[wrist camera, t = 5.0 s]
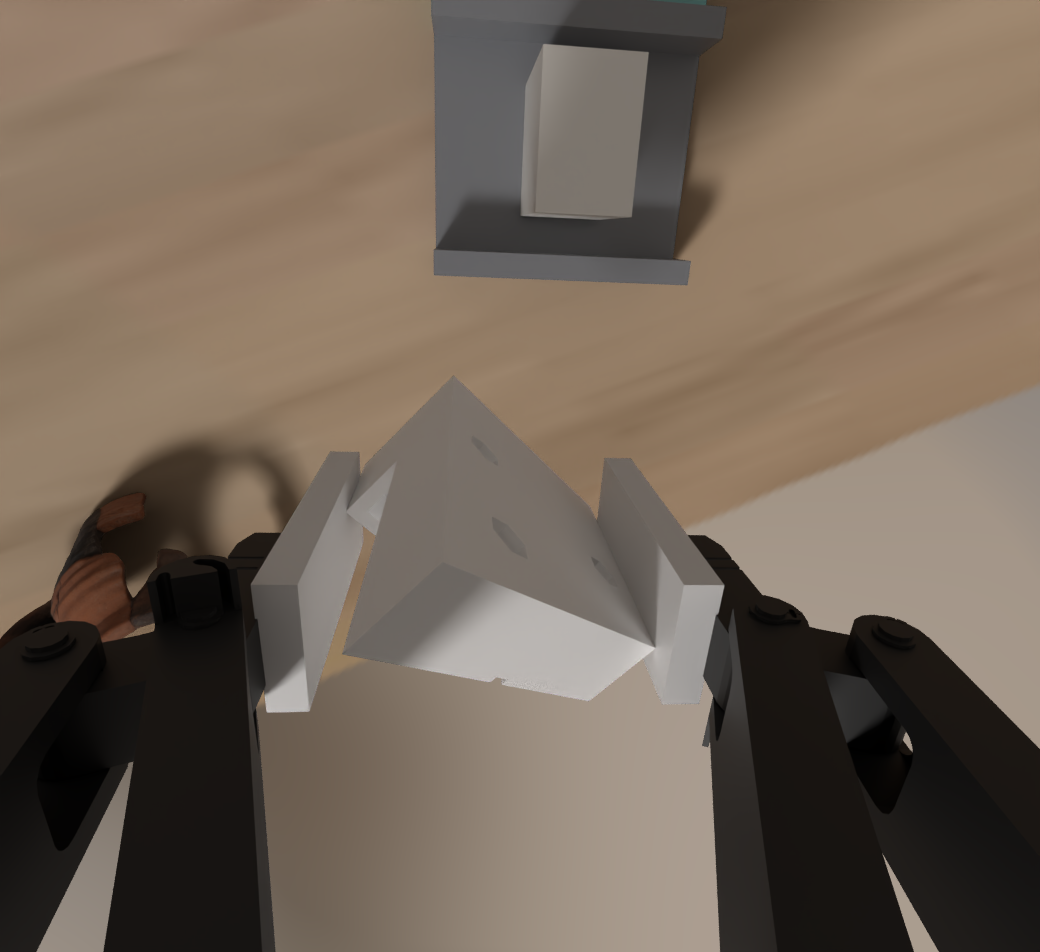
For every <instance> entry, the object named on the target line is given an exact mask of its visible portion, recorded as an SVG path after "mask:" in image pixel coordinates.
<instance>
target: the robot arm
mask: <svg viewBox="0 0 1040 952" xmlns="http://www.w3.org/2000/svg"><path fill="white" fill-rule="evenodd" d="M359 479H360V456H359V452H331V451H330V453H329V455H328V456H327V458H326V460H325V461H324V463H323V465H322V466H321V468H320V470H319V471H318V473H317V475H316V476H315V478H314V480H313V481H312V483H311V485H310V486H309V488H308V490H307V491H306V493H305V495H304V496H303V498H302V500H301V501H300V503H299V505H298V506H297V508H296V510H295V511H294V513H293V515H292V516H291V518H290V520H289V521H288V523H287V525H286V526H285V528H284V530H283V531H282V533H254V534H252V535H250V536H249V537H247V538H246V539H244V540H242V541H241V542H239V543H238V544H237V545H236V546H235V548H234V549H233V550H232V552H231V553H230V554H229V556H228V559H227V558H225V557H219V556H212V555H206V556H193V557H189V558H184V559H180V560H176V561H174V562H172V563H169V564H167V565H164V566H162V567H161V568H159V569H158V570H156V571H155V572H154V573H152V574H151V576H150V577H149V579H148V581H147V582H146V583H147V588H148V593H149V598H150V602H151V607H152V612H153V617H154V622H155V629H154V631H153V632H150V633H146V634H142V635H138V636H134V637H128V638H123V639H118V640H112V641H107V642H102V640H101V636H100V633H99V631H98V629H97V627H96V626H95V625H93V624H90V623H88V622H85V621H64V622H57V623H50V624H45V625H44V626H39V627H36V628H33V629H31V630H30V631H28V632H26V633H24V634H22V635H20V636H18V637H15V638H13V639H12V640H11V641H10V642H8V643H7V644H6V645H5V646H3V647H2V648H1V649H0V952H36V951H37V949H38V947H39V945H40V943H41V941H42V939H43V937H44V935H45V933H46V931H47V929H48V927H49V925H50V923H51V921H52V919H53V917H54V915H55V913H56V911H57V909H58V907H59V905H60V903H61V900H62V899H63V897H64V895H65V892H66V891H67V889H68V887H69V884H70V883H71V881H72V879H73V877H74V875H75V872H76V870H77V868H78V866H79V864H80V862H81V860H82V858H83V856H84V854H85V852H86V850H87V848H88V846H89V844H90V842H91V840H92V838H93V836H94V834H95V832H96V830H97V828H98V826H99V824H100V822H101V820H102V818H103V815H104V814H105V812H106V810H107V808H108V806H109V804H110V801H111V800H112V798H113V796H114V794H115V791H116V789H117V787H118V785H119V783H120V781H121V779H122V777H123V775H124V773H125V771H126V769H127V767H128V763H129V762H133V761H134V762H133V769H132V775H131V781H130V788H129V794H128V800H127V806H126V813H125V819H124V825H123V831H122V838H121V844H120V851H119V857H118V863H117V869H116V876H115V882H114V888H113V895H112V901H111V907H110V914H109V920H108V926H107V933H106V939H105V945H104V952H275V939H274V926H273V913H272V900H271V887H270V874H269V860H268V846H267V833H266V822H265V821H266V820H265V807H264V794H263V780H262V769H261V768H262V767H261V755H260V741H259V728H258V720H257V712H256V706H257V704H258V702H259V699H260V697H261V695H262V692H263V690H264V694H265V701H266V709H267V712H306V711H308V712H309V711H310V708H311V705H312V702H313V699H314V695H315V692H316V689H317V686H318V683H319V680H320V677H321V674H322V670H323V667H324V664H325V661H326V658H327V655H328V652H329V648H330V645H331V642H332V639H333V636H334V633H335V630H336V626H337V623H338V620H339V617H340V614H341V611H342V608H343V604H344V601H345V598H346V595H347V592H348V589H349V586H350V582H351V579H352V576H353V573H354V570H355V567H356V564H357V560H358V557H359V554H360V551H361V548H362V545H363V525H361V524H360V523H359V522H358V521H356V520H355V519H354V518H353V517H351V516H350V515H349V514H347V508H348V506H349V504H350V501H351V499H352V496H353V494H354V491H355V489H356V487H357V484H358V482H359ZM597 523H598V525H599V527H600V529H601V531H602V533H603V536H604V538H605V540H606V542H607V544H608V546H609V549H610V551H611V553H612V555H613V557H614V559H615V562H616V564H617V566H618V568H619V570H620V572H621V574H622V577H623V579H624V581H625V583H626V585H627V587H628V590H629V592H630V594H631V596H632V598H633V600H634V603H635V605H636V607H637V609H638V611H639V613H640V616H641V618H642V620H643V622H644V624H645V626H646V629H647V631H648V633H649V635H650V637H651V639H652V642H653V644H654V646H655V649H654V650H653V651H651V652H650V653H649V654H648V655H646V656H645V657H644V658H643V660H644V663H645V665H646V668H647V670H648V672H649V675H650V677H651V679H652V682H653V684H654V686H655V689H656V691H657V694H658V696H659V698H660V701H661V703H662V704H699V702H700V697H701V693H702V688H703V683H704V679H705V681H706V683H707V685H708V687H709V689H710V690H711V692H712V694H713V700H712V704H711V708H710V713H709V717H708V722H707V726H706V731H705V735H704V740H703V744H702V746H706V747H708V746H709V743H710V748H711V769H712V790H713V811H714V831H715V852H716V873H717V895H718V913H719V937H720V952H914V951H913V948H912V945H911V941H910V938H909V935H908V932H907V929H906V926H905V923H904V920H903V917H902V914H901V910H900V907H899V904H898V901H897V898H896V895H895V892H894V888H893V885H892V882H891V879H890V876H889V873H888V870H887V867H886V864H885V860H884V857H885V858H886V860H887V862H888V864H889V865H890V867H891V869H892V870H893V872H894V874H895V876H896V878H897V879H898V881H899V883H900V885H901V886H902V888H903V890H904V892H905V893H906V895H907V897H908V898H909V900H910V902H911V903H912V905H913V907H914V909H915V911H916V912H917V914H918V916H919V918H920V920H921V921H922V923H923V925H924V927H925V928H926V930H927V932H928V933H929V935H930V937H931V939H932V941H933V942H934V944H935V946H936V947H937V949H938V951H939V952H1040V749H1039V748H1038V747H1037V746H1036V745H1035V744H1034V743H1033V742H1032V741H1031V740H1030V739H1029V738H1028V737H1027V736H1026V735H1025V734H1024V733H1023V732H1022V731H1021V730H1020V729H1019V728H1018V727H1017V726H1016V725H1015V724H1014V723H1013V722H1012V721H1011V720H1010V719H1009V718H1008V717H1007V715H1005V714H1004V712H1002V711H1001V709H999V708H998V707H997V705H996V704H995V703H993V701H992V700H990V699H989V697H988V696H987V695H985V693H984V692H983V691H982V690H981V689H980V688H979V687H977V685H975V683H974V682H973V681H971V679H970V678H969V677H968V676H967V675H966V674H965V673H964V672H963V671H962V670H961V669H960V668H959V667H958V666H957V665H956V664H955V663H954V662H953V661H952V660H951V659H950V658H949V657H948V656H947V655H946V654H945V653H944V652H943V651H942V650H941V649H940V648H939V647H938V646H937V645H936V644H935V643H934V642H933V641H932V640H931V639H930V638H929V637H927V636H926V635H925V634H923V633H922V632H921V631H920V630H918V629H916V628H914V627H912V626H910V625H908V624H907V623H906V622H904V621H901V620H898V619H897V620H896V619H895V618H892V617H888V616H878V615H864V616H860V617H858V618H856V619H855V620H854V623H853V626H852V630H851V633H850V635H847V634H842V633H836V632H831V631H826V630H820V629H816V628H812V627H809V624H808V621H807V620H806V618H805V616H804V615H803V614H802V612H800V611H799V610H798V609H796V608H795V607H794V606H792V605H791V604H788V603H786V602H784V601H782V600H780V599H777V598H773V597H769V596H766V595H762V594H761V593H760V592H759V591H758V589H757V588H756V587H755V586H754V584H753V583H752V582H751V581H750V580H749V578H748V577H747V576H746V575H745V574H744V572H743V571H742V570H740V569H739V566H738V565H737V564H736V563H735V561H734V560H732V559H731V557H730V555H729V554H728V553H727V552H726V551H725V549H724V548H723V547H722V546H721V545H719V544H718V543H716V542H715V541H713V540H711V539H710V538H708V537H707V536H705V535H687V534H686V532H685V531H684V530H683V528H682V527H681V526H680V524H679V523H678V522H677V520H676V519H675V518H674V516H673V515H672V514H671V512H670V511H669V509H668V508H667V507H666V505H665V504H664V503H663V501H662V500H661V499H660V497H659V496H658V495H657V493H656V492H655V491H654V489H653V488H652V486H651V485H650V484H649V482H648V481H647V480H646V478H645V477H644V476H643V474H642V473H641V472H640V470H639V469H638V468H637V466H636V465H635V463H634V462H633V461H632V459H631V458H604V466H603V475H602V483H601V492H600V500H599V509H598V517H597ZM906 732H907V734H908V735H909V737H910V741H911V744H912V748H913V752H912V751H911V750H910V749H909V748H908V747H907V745H906V744H905V743H904V741H903V738H904V734H905V733H906ZM882 853H883V854H882ZM883 855H884V857H883Z"/></svg>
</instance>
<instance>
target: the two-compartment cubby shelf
mask: <svg viewBox="0 0 1040 952" xmlns="http://www.w3.org/2000/svg"><path fill="white" fill-rule="evenodd" d="M706 1H707V0H431V16H432V23H433V30H434V60H435V181H436V249H434V275H441V276H466V277H492V278H517V279H542V280H567V281H593V282H618V283H643V284H668V285H688V278H689V270H690V263H691V261H687V260H679V259H673V254H674V246H675V239H676V231H677V223H678V216H679V208H680V200H681V193H682V185H683V177H684V170H685V162H686V154H687V147H688V139H689V131H690V124H691V116H692V108H693V101H694V93H695V85H696V78H697V70H698V63H699V56H700V55H701V54H703V53H704V52H705V51H707V50H708V49H709V48H711V47H712V46H713V45H715V44H716V43H717V42H719V41H720V40H721V39H722V37H723V30H724V23H725V16H726V9H727V7H721V6H710V5H706ZM543 44H551V45H564V46H576V47H589V48H602V49H615V50H627V51H640V52H649V54H648V64H647V73H646V83H645V93H644V102H643V112H642V122H641V131H640V141H639V150H638V160H637V170H636V179H635V189H634V199H633V208H632V217H627V218H615V219H603V220H587V219H567V218H547V217H527V216H520V212H521V187H522V162H523V137H524V112H525V87H526V83H527V81H528V79H529V76H530V74H531V72H532V69H533V67H534V65H535V62H536V60H537V58H538V55H539V53H540V51H541V49H542V46H543Z"/></svg>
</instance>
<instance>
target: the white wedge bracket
mask: <svg viewBox="0 0 1040 952" xmlns="http://www.w3.org/2000/svg"><path fill="white" fill-rule="evenodd" d="M347 514H349V515H350V516H351V517H353V518H354V519H355V520H356V521H358V522H359V523H360V524H361V525H363V526H364V527H365V528H366V529H368V530H369V531H370V532H371V533H373V534H374V535H375V536H376V537H375V541H374V544H373V548H372V551H371V555H370V558H369V562H368V565H367V569H366V572H365V576H364V579H363V583H362V586H361V590H360V593H359V597H358V600H357V604H356V607H355V611H354V614H353V618H352V622H351V625H350V629H349V632H348V636H347V639H346V643H345V646H344V650H343V653H342V654H343V655H349V656H354V657H359V658H364V659H370V660H375V661H380V662H385V663H391V664H396V665H401V666H407V667H412V668H417V669H422V670H428V671H433V672H438V673H444V674H449V675H454V676H459V677H464V678H470V679H475V680H480V681H485V682H491V681H492V680H494V679H495V678H496V677H498V678H501V682H502V685H506V686H512V687H517V688H522V689H528V690H533V691H538V692H543V693H549V694H554V695H559V696H564V697H570V698H575V699H580V700H585V701H590V700H591V699H592V698H593V697H595V696H596V695H597V694H599V693H600V692H601V691H602V690H603V689H605V688H606V687H607V686H609V685H610V684H611V683H612V682H614V681H615V680H616V679H617V678H619V677H620V676H621V675H623V674H624V673H625V672H626V671H627V670H629V669H630V668H631V667H633V666H634V665H635V664H636V663H638V662H639V661H640V660H641V659H643V658H644V657H645V656H646V655H648V654H649V653H650V652H651V651H653V650H654V649H655V646H654V644H653V642H652V639H651V637H650V635H649V633H648V631H647V629H646V626H645V624H644V622H643V620H642V618H641V616H640V613H639V611H638V609H637V607H636V605H635V603H634V600H633V598H632V596H631V594H630V592H629V590H628V587H627V585H626V583H625V581H624V579H623V577H622V574H621V572H620V570H619V568H618V566H617V564H616V562H615V559H614V557H613V555H612V553H611V551H610V549H609V546H608V544H607V542H606V540H605V538H604V536H603V533H602V531H601V529H600V527H599V525H598V523H597V520H596V518H595V516H594V514H593V512H592V509H591V507H590V506H589V505H588V504H587V503H586V502H585V501H584V500H583V499H582V498H581V497H580V496H579V495H578V494H577V493H576V492H575V491H574V490H572V489H571V488H570V487H569V486H568V485H567V484H566V483H565V482H564V481H563V480H562V479H561V478H560V477H559V476H558V475H557V474H556V473H555V472H554V471H553V470H552V469H551V468H550V467H549V466H548V465H546V464H545V463H544V462H543V461H542V460H541V459H540V458H539V457H538V456H537V455H536V454H535V453H534V452H533V451H532V450H531V449H530V448H529V447H528V446H527V445H526V444H525V443H524V442H523V441H522V440H521V439H519V438H518V437H517V436H516V435H515V434H514V433H513V432H512V431H511V430H510V429H509V428H508V427H507V426H506V425H505V424H504V423H503V422H502V421H501V420H500V419H499V418H498V417H497V416H496V415H495V414H493V413H492V412H491V411H490V410H489V409H488V408H487V407H486V406H485V405H484V404H483V403H482V402H481V401H480V400H479V399H478V398H477V397H476V396H475V395H474V394H473V393H472V392H471V391H470V390H469V389H468V388H466V387H465V386H464V385H463V384H462V383H461V382H460V381H459V380H458V379H457V378H456V377H455V376H454V375H453V376H452V377H451V379H450V380H449V381H448V382H447V383H446V384H445V385H444V386H443V387H442V388H441V389H440V390H439V391H438V392H437V393H436V394H435V395H434V396H433V397H432V398H431V399H430V400H429V401H428V402H427V403H426V404H425V405H424V406H423V407H422V408H421V409H420V410H419V411H418V412H417V413H416V414H415V415H414V416H413V417H412V418H411V419H410V420H409V421H408V422H407V423H406V424H405V425H404V426H403V427H402V428H401V429H400V430H399V431H398V432H397V433H396V434H395V435H394V436H393V437H392V438H391V439H390V440H389V441H388V442H387V443H386V444H385V445H384V446H383V447H382V448H381V449H380V450H379V451H378V452H377V453H376V454H375V455H374V456H373V457H372V458H371V459H370V460H369V461H368V462H367V463H366V464H365V466H364V469H363V471H362V473H361V476H360V479H359V482H358V484H357V487H356V489H355V491H354V494H353V496H352V499H351V501H350V504H349V506H348V508H347Z"/></svg>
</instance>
